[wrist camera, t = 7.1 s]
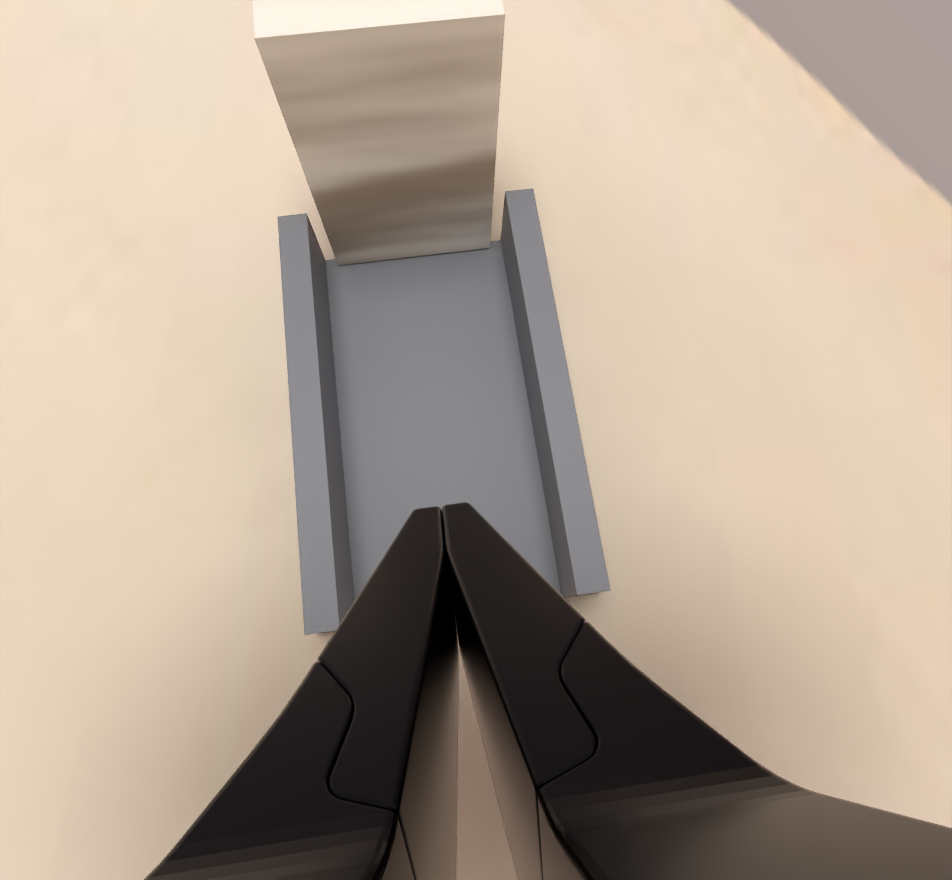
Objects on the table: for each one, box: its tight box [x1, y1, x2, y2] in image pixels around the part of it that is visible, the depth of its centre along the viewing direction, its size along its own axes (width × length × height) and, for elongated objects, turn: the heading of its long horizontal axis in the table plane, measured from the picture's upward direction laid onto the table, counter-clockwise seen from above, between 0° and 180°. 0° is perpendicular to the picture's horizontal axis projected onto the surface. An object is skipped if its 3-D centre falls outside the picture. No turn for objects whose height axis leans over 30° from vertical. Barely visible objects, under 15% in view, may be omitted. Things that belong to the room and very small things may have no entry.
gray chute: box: [278, 189, 610, 635], centre depth 22 cm, size 14×10×4 cm
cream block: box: [252, 0, 505, 265], centre depth 20 cm, size 4×6×10 cm, turn 98°
